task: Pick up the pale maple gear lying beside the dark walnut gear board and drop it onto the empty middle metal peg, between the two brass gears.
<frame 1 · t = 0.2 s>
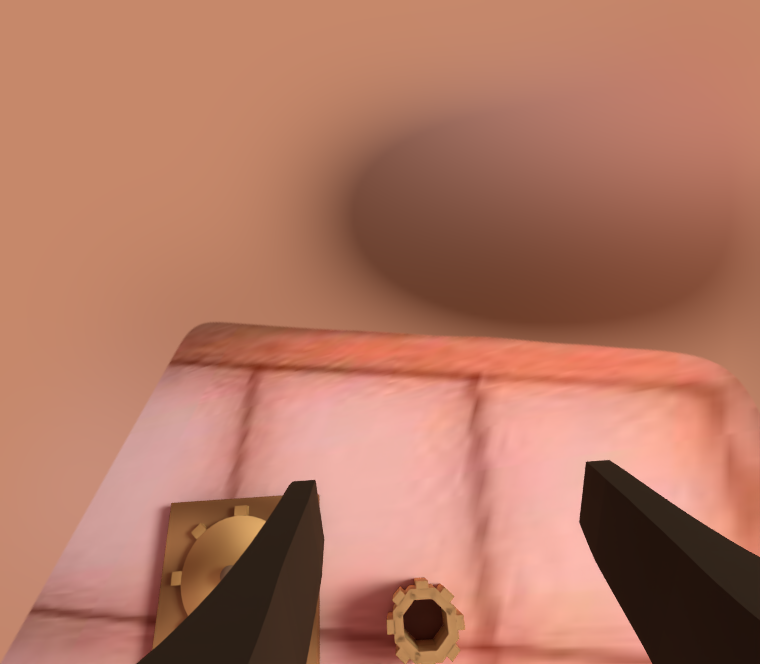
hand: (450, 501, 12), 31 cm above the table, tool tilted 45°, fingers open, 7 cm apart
maple gear: (422, 616, 38), on the table
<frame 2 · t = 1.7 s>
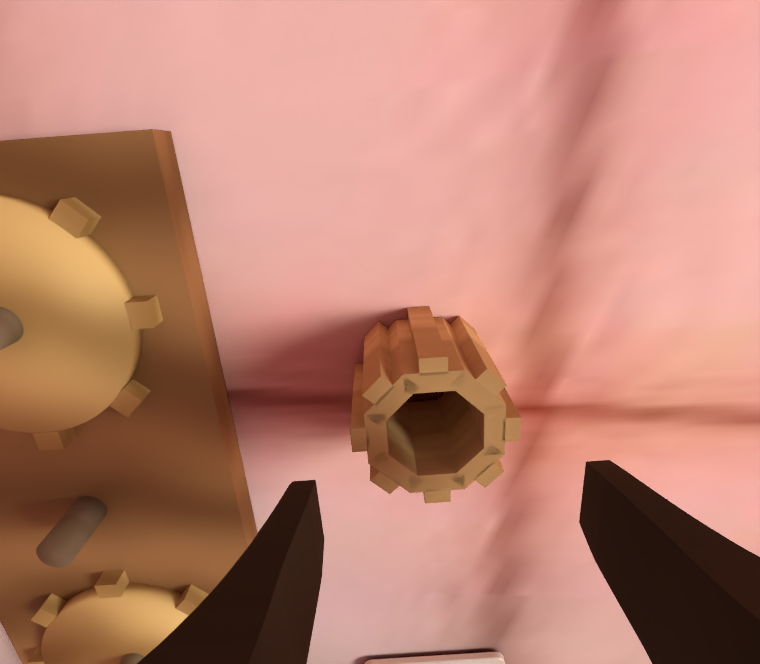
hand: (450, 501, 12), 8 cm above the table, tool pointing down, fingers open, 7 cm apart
gear board: (108, 485, 22), on the table
maple gear: (420, 368, 20), on the table
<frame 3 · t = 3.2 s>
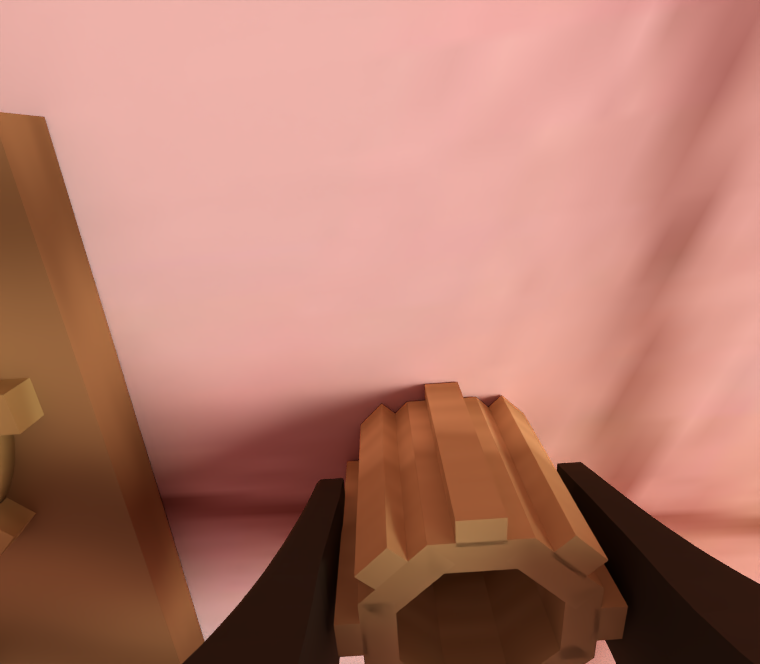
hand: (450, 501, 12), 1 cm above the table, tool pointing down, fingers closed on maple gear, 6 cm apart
gear board: (2, 619, 16), on the table
maple gear: (443, 467, 14), on the table, touching gripper
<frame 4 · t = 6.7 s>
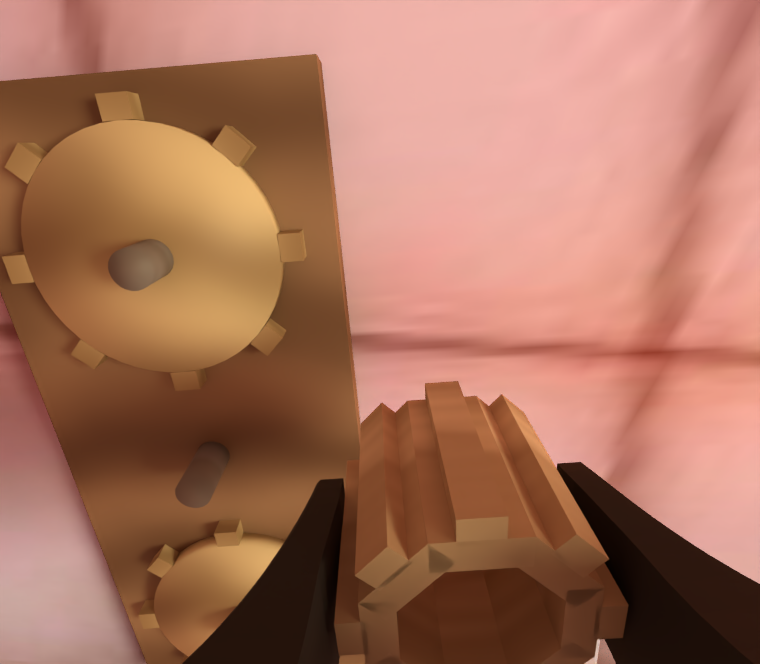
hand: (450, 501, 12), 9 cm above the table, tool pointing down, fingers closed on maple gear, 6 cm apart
gear board: (223, 435, 22), on the table
maple gear: (443, 466, 14), point 7 cm above the table, touching gripper
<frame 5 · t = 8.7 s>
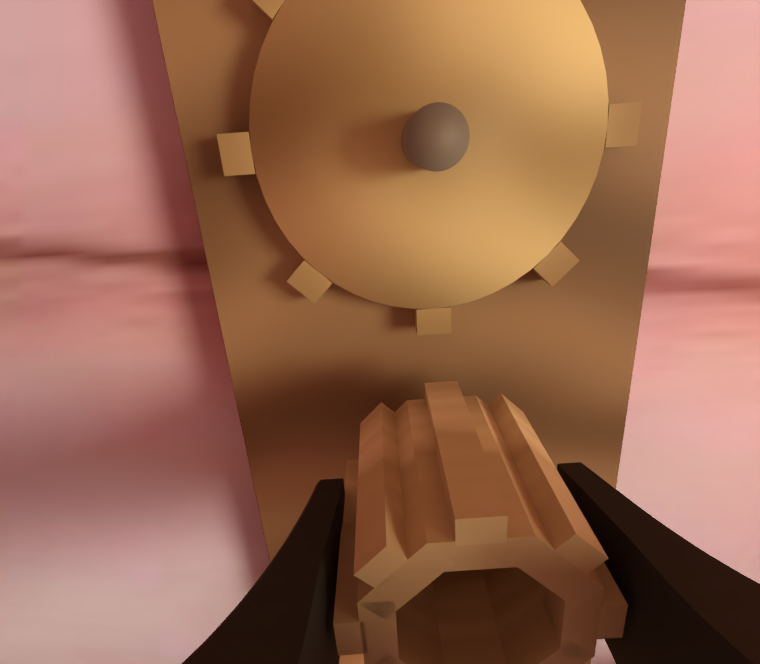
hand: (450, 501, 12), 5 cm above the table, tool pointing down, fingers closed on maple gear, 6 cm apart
gear board: (429, 404, 17), on the table
maple gear: (442, 466, 14), point 4 cm above the table, touching gripper
when the fingers open (4 cm above the table, at t = 10.4 s): maple gear stays where it is, resting on gear board.
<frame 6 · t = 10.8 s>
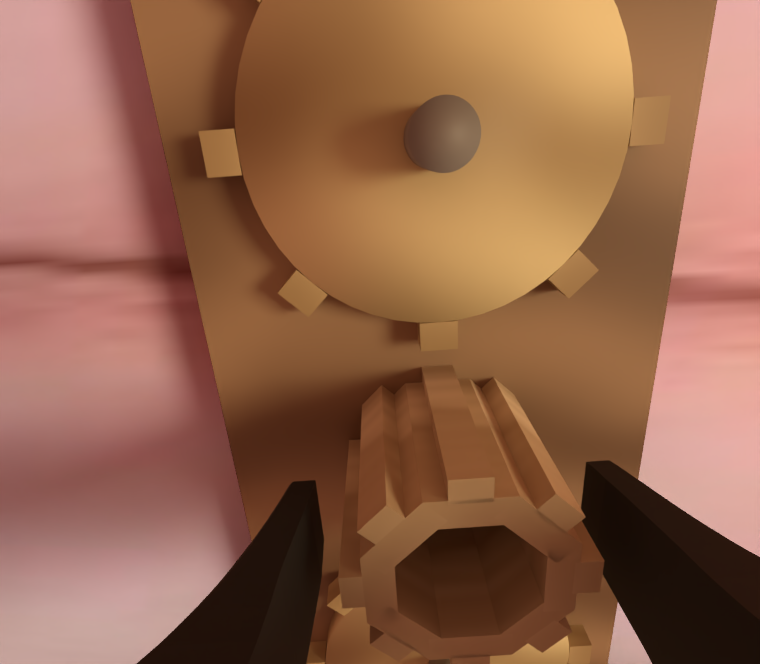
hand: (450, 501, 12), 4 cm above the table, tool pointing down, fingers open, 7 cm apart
gear board: (432, 421, 16), on the table
maple gear: (439, 446, 14), point 1 cm above the table, touching gear board
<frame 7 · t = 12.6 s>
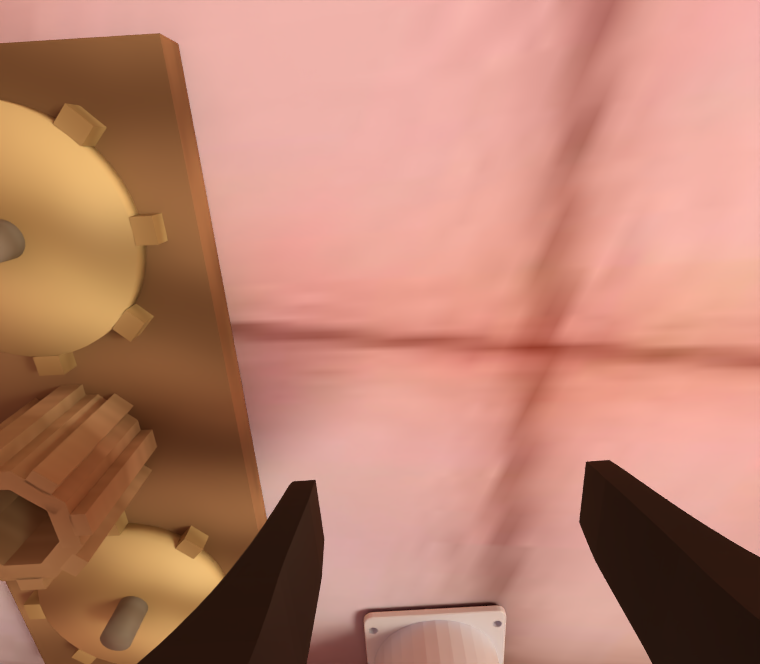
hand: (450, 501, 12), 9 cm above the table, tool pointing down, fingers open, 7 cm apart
gear board: (108, 423, 22), on the table
maple gear: (90, 441, 20), point 1 cm above the table, touching gear board
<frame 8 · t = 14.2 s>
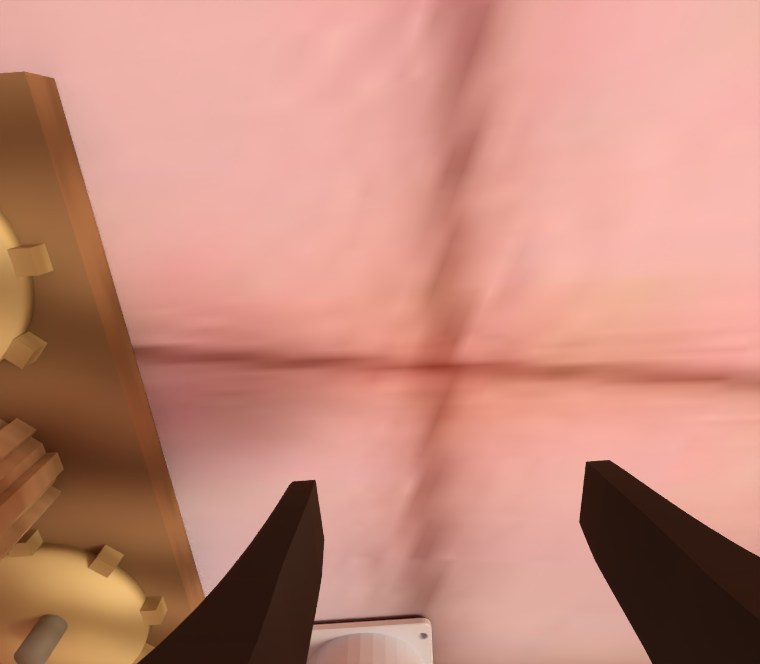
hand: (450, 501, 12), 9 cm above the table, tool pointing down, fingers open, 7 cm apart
gear board: (22, 445, 22), on the table
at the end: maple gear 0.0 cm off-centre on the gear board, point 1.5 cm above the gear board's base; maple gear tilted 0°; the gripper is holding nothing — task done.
